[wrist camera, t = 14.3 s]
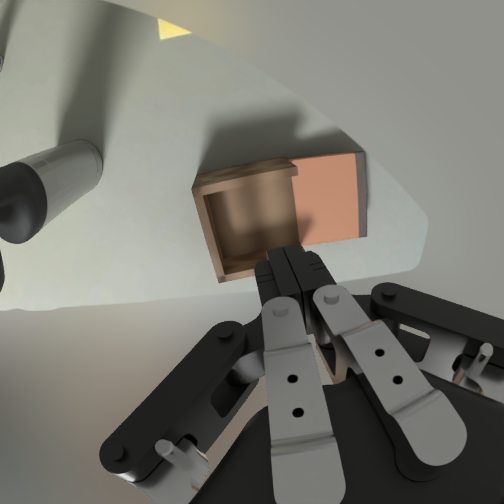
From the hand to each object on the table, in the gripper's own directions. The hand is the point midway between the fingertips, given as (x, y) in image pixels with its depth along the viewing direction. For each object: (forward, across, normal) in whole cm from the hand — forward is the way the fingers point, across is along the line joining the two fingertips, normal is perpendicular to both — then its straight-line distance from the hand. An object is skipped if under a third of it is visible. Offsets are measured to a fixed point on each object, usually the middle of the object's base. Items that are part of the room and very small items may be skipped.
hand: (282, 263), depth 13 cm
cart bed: (+32, 0, +9) cm, 33 cm away
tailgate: (+29, -7, +9) cm, 31 cm away
